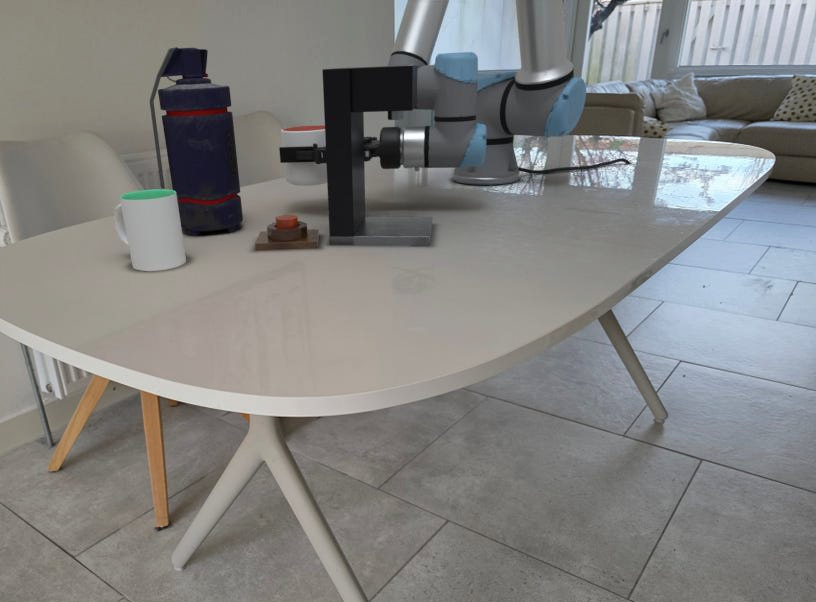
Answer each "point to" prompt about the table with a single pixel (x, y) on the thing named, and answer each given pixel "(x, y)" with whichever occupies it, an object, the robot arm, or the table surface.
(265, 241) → the brew pad
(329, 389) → the table surface
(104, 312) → the table surface
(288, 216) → the brew button
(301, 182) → the cup
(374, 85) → the coffee maker
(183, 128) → the grenade
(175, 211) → the mug
